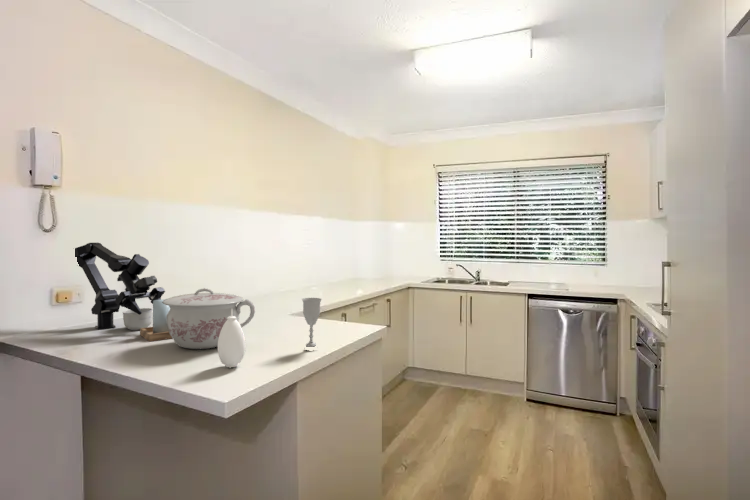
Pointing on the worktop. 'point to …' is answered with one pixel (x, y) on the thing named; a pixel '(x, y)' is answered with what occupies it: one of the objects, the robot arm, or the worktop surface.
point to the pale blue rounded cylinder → (160, 316)
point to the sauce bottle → (231, 342)
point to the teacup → (137, 319)
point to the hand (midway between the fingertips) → (151, 312)
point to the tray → (149, 335)
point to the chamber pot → (202, 317)
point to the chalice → (311, 315)
